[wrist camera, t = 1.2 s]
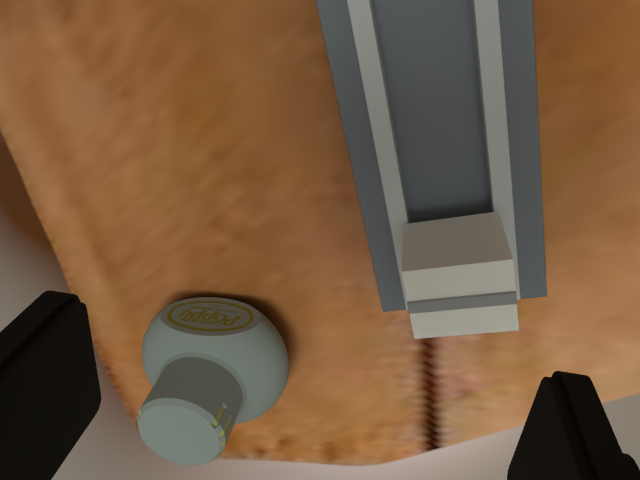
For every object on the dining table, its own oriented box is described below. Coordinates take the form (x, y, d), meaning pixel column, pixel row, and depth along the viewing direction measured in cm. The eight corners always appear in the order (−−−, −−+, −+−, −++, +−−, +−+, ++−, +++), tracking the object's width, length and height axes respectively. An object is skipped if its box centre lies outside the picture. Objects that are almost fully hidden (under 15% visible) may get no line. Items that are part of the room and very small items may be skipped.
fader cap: (494, 199, 29) (513, 261, 24) (500, 261, 31) (519, 333, 25) (404, 212, 31) (401, 273, 25) (414, 270, 32) (414, 341, 27)
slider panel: (508, -230, 23) (527, -266, 19) (537, 270, 35) (552, 311, 31) (293, -159, 26) (270, -178, 22) (385, 286, 37) (381, 325, 33)
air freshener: (169, 367, 44) (109, 468, 36) (155, 284, 40) (83, 376, 32) (297, 382, 43) (267, 491, 34) (295, 298, 39) (260, 397, 30)
